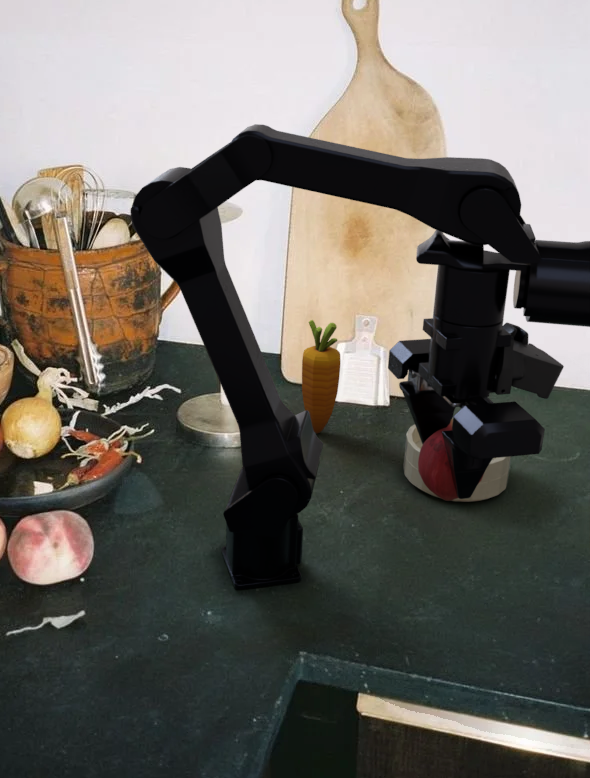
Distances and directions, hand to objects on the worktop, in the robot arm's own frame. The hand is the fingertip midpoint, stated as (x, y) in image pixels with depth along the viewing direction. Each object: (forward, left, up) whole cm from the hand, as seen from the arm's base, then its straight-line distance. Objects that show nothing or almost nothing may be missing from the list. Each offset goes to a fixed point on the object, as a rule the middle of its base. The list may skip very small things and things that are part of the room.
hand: (449, 480), depth 83 cm
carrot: (-1, +33, -12) cm, 35 cm away
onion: (0, 0, -2) cm, 2 cm away
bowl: (+11, +19, -12) cm, 25 cm away
